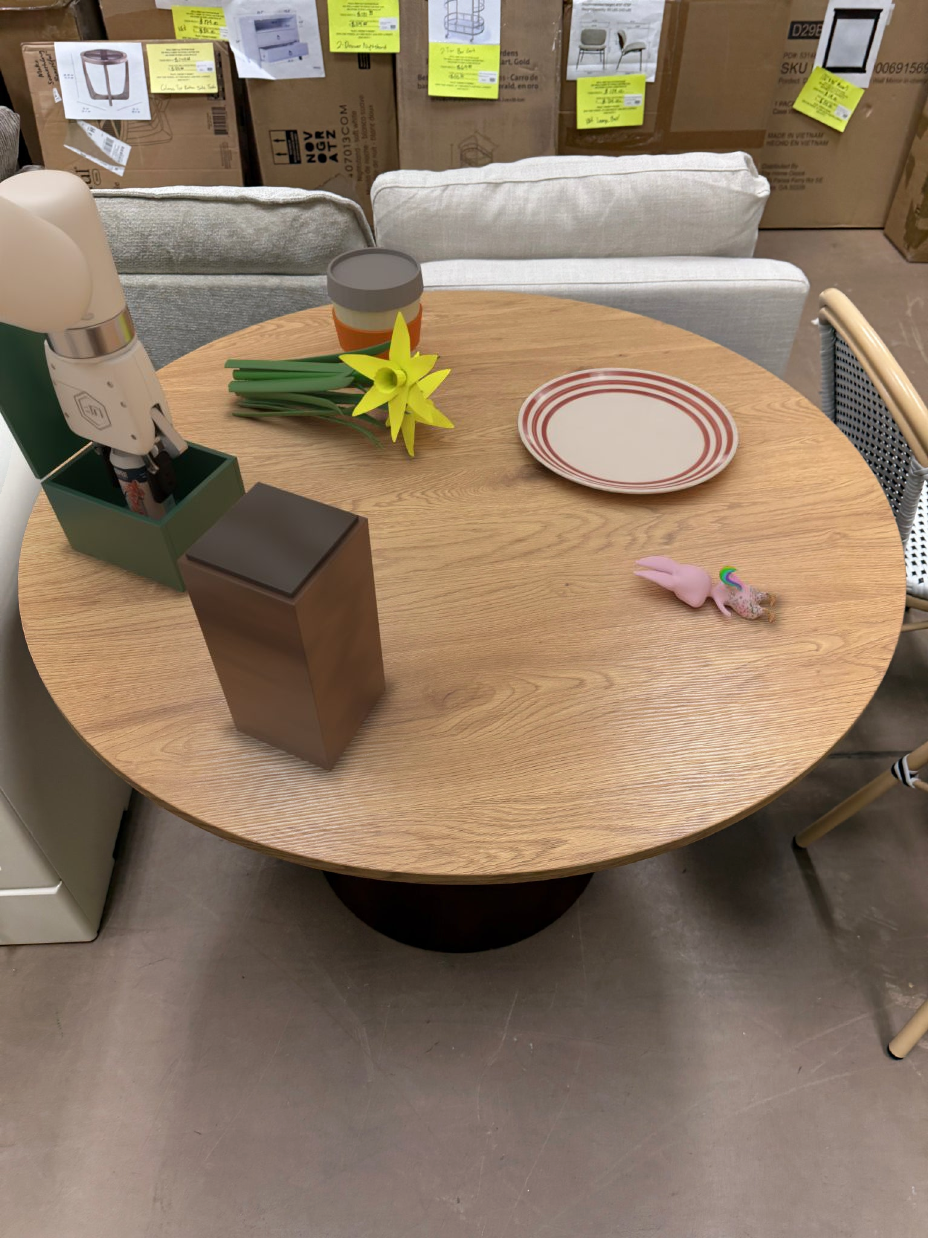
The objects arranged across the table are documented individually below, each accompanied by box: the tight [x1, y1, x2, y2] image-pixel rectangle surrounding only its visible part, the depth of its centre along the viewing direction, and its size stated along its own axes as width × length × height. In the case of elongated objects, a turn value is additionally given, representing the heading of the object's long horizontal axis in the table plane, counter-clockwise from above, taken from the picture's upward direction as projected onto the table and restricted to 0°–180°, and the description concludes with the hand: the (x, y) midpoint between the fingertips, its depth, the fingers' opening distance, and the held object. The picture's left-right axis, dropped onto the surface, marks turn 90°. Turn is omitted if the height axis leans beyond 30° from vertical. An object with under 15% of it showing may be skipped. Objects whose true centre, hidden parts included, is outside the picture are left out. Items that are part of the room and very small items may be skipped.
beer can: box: [110, 445, 176, 521], centre depth 87 cm, size 5×5×12 cm
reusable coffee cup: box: [326, 246, 425, 361], centre depth 109 cm, size 13×13×15 cm
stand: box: [177, 481, 387, 772], centre depth 68 cm, size 10×10×22 cm
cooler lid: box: [0, 322, 92, 481], centre depth 81 cm, size 16×12×5 cm
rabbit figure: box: [632, 555, 779, 624], centre depth 84 cm, size 6×6×15 cm
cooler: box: [40, 439, 247, 593], centre depth 88 cm, size 15×12×10 cm
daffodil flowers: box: [223, 311, 455, 458], centre depth 100 cm, size 17×15×35 cm
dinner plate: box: [517, 367, 740, 495], centre depth 103 cm, size 27×27×3 cm
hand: (145, 486), depth 86 cm, fingers closed on beer can, 4 cm apart
